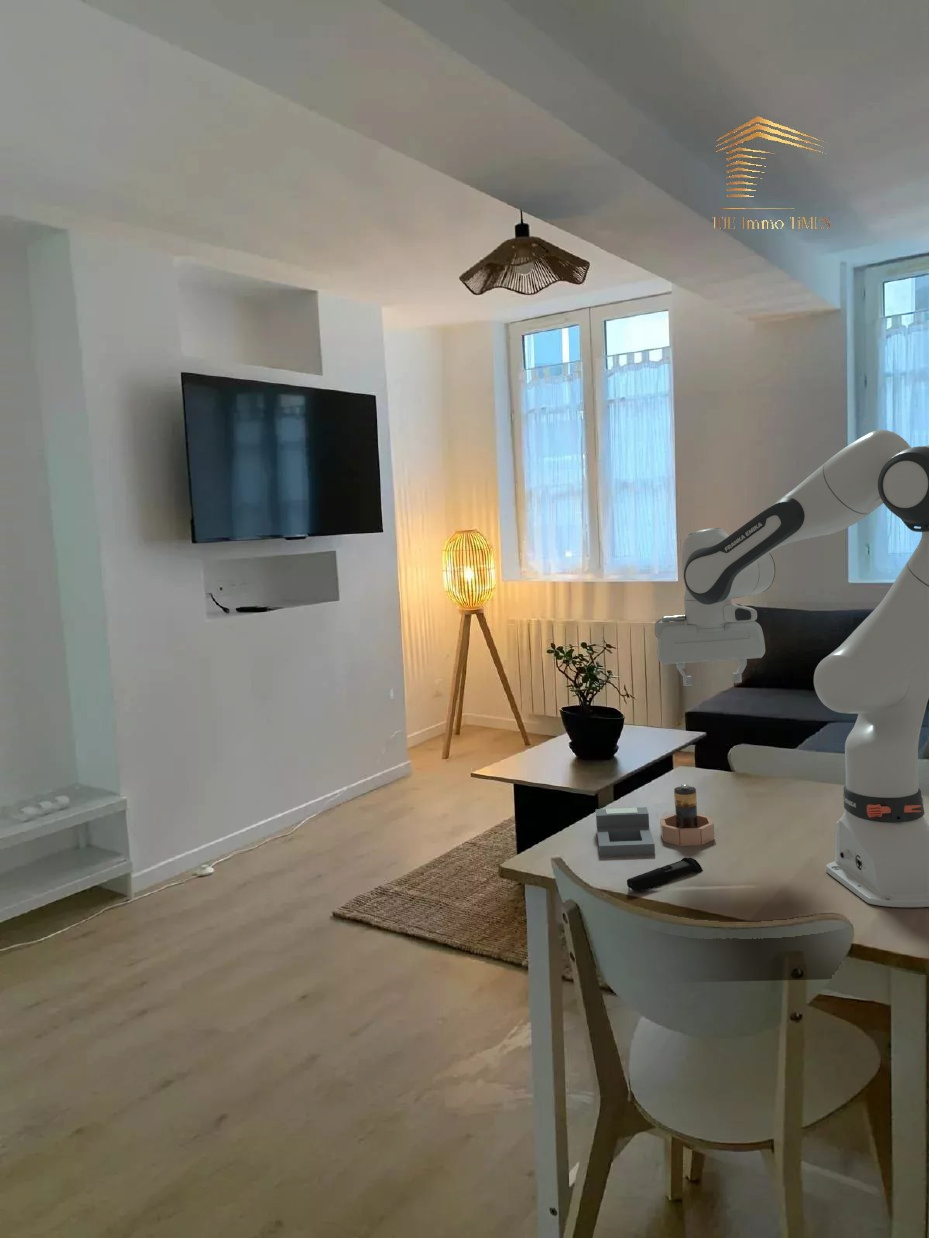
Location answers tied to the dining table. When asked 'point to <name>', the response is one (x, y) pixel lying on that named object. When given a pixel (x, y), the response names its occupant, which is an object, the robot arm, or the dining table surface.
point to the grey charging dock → (624, 832)
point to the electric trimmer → (664, 874)
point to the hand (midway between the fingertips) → (712, 683)
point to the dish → (687, 831)
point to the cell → (685, 806)
